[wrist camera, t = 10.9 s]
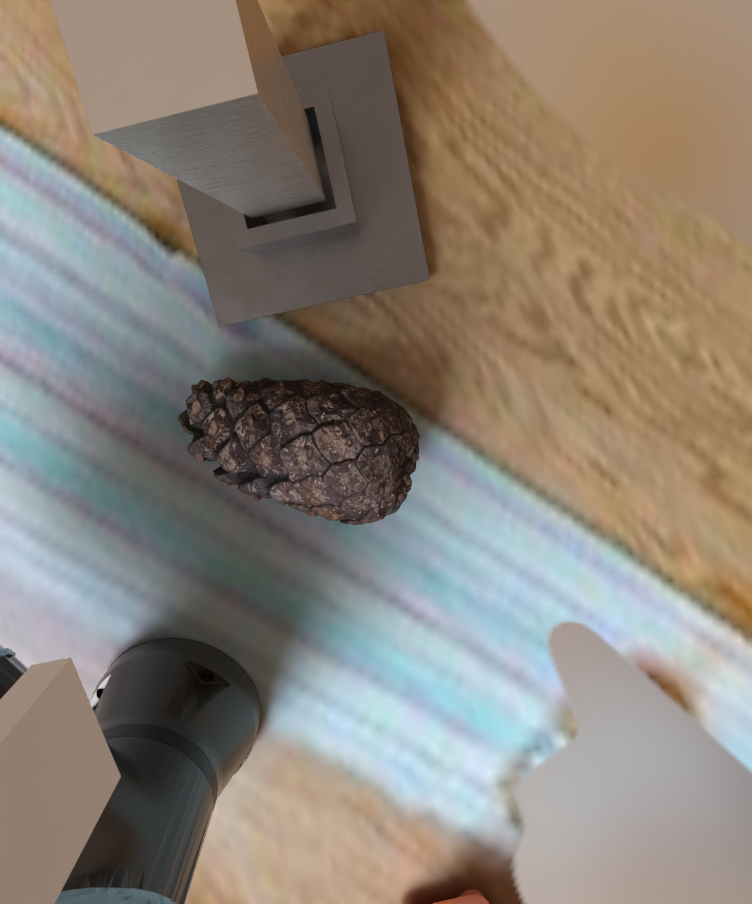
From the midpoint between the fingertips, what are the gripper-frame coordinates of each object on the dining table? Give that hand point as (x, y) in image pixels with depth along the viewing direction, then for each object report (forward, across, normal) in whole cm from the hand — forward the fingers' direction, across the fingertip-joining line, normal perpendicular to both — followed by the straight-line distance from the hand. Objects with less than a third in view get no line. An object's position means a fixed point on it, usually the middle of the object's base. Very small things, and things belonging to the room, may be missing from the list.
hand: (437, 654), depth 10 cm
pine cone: (+37, -8, -4) cm, 38 cm away
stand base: (+37, -4, +14) cm, 39 cm away
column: (+28, -4, +14) cm, 32 cm away
